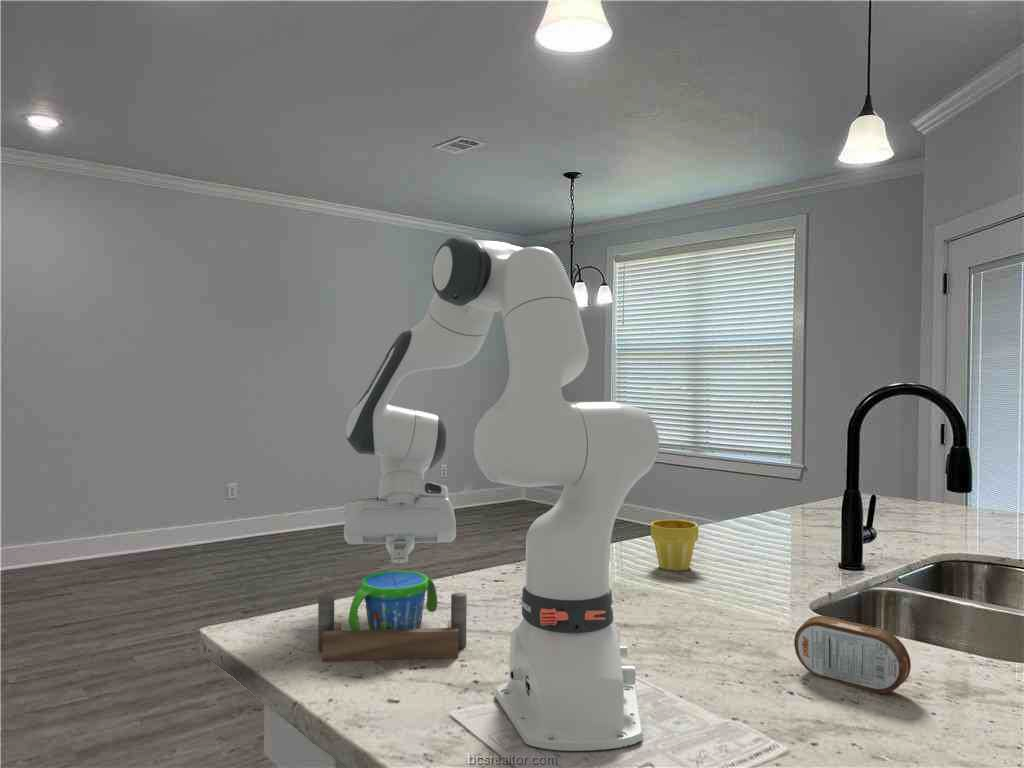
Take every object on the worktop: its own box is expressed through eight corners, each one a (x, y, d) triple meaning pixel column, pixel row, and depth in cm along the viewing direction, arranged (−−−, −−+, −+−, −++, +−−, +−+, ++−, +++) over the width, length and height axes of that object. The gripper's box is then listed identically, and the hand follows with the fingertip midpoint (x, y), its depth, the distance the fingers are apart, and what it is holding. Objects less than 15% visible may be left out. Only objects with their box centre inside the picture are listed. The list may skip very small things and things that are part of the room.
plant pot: (646, 571, 166) (647, 526, 166) (653, 560, 176) (654, 517, 176) (695, 575, 163) (696, 529, 163) (699, 564, 173) (700, 520, 173)
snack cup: (365, 664, 112) (365, 594, 112) (334, 643, 120) (334, 579, 120) (454, 641, 122) (454, 578, 122) (420, 624, 130) (420, 564, 130)
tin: (911, 695, 103) (912, 633, 102) (904, 703, 100) (905, 639, 100) (799, 666, 113) (800, 609, 112) (791, 672, 110) (791, 614, 110)
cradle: (467, 657, 115) (467, 604, 115) (312, 661, 113) (313, 607, 113) (465, 635, 125) (465, 586, 125) (322, 638, 123) (323, 588, 122)
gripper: (344, 488, 141) (337, 552, 132) (455, 486, 143) (456, 549, 134) (347, 508, 146) (341, 572, 136) (455, 506, 148) (456, 569, 138)
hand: (399, 561), depth 135 cm, fingers closed
